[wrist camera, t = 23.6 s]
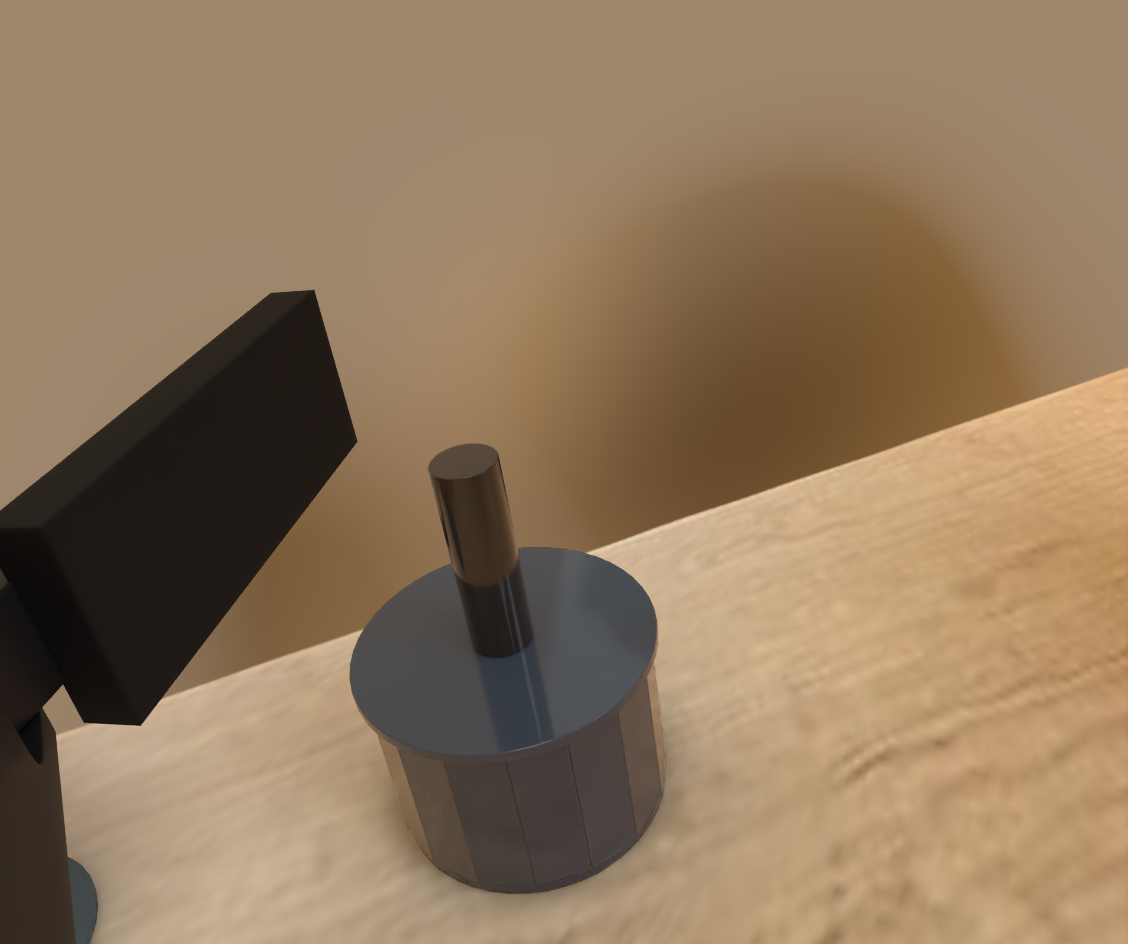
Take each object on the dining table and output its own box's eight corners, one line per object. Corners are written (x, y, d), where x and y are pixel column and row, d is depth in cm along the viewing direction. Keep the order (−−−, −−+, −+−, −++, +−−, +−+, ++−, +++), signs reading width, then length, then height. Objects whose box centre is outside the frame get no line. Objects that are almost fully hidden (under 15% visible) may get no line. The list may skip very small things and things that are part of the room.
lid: (610, 538, 49) (585, 359, 44) (705, 718, 38) (686, 503, 33) (349, 605, 47) (291, 427, 42) (363, 816, 36) (287, 605, 31)
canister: (622, 662, 53) (603, 536, 48) (703, 844, 42) (689, 702, 38) (397, 724, 51) (357, 599, 47) (422, 930, 40) (373, 791, 36)
